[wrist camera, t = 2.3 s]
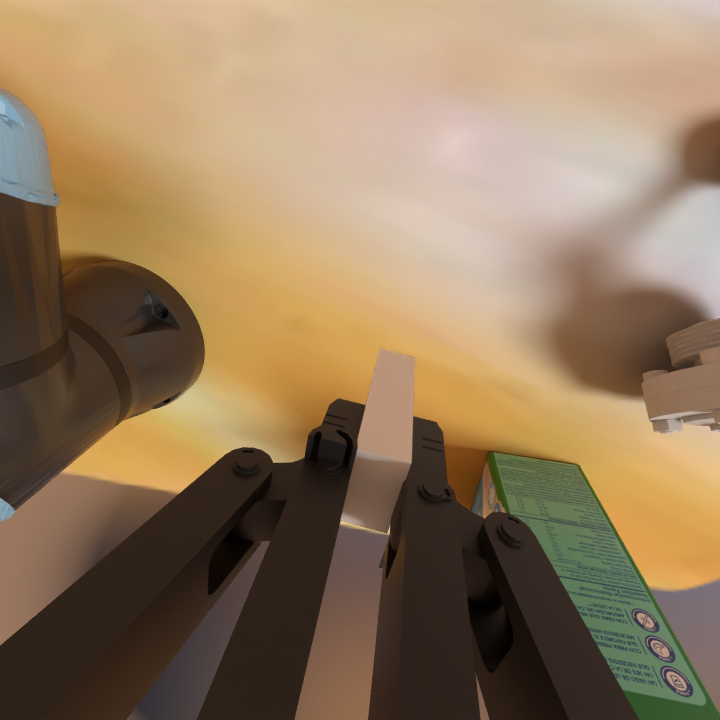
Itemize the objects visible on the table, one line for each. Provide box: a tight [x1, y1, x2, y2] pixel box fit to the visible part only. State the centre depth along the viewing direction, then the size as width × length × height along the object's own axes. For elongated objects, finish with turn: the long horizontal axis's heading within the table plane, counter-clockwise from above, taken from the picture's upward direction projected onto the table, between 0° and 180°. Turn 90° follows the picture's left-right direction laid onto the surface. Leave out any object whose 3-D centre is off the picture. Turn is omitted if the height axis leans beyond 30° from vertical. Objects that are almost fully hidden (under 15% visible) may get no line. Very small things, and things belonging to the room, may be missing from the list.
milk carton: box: [471, 451, 720, 720], centre depth 29 cm, size 9×9×25 cm
